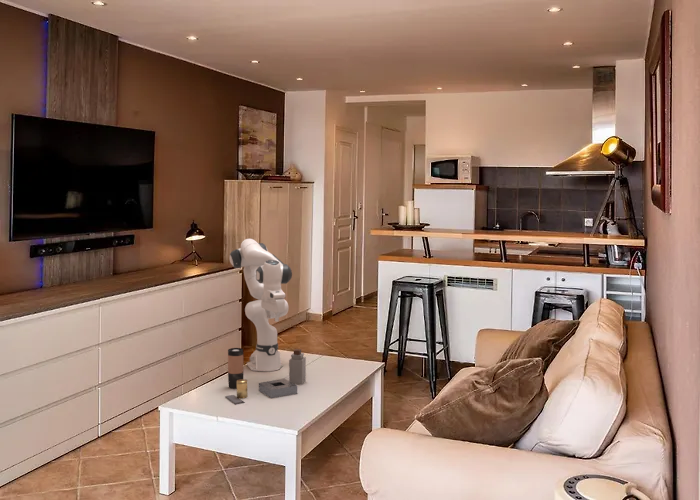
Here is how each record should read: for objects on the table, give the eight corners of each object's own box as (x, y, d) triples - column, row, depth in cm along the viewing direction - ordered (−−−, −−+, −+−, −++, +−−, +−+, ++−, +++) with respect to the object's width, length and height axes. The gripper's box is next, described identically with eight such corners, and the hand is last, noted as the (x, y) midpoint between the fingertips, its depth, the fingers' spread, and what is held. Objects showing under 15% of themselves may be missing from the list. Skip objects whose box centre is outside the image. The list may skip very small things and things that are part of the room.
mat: (225, 397, 320) (225, 396, 320) (248, 393, 327) (248, 392, 327) (235, 404, 310) (235, 402, 310) (258, 400, 317) (258, 398, 317)
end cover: (235, 396, 319) (234, 380, 319) (244, 394, 322) (244, 378, 321) (239, 399, 315) (239, 382, 315) (249, 397, 318) (249, 381, 317)
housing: (258, 392, 329) (258, 382, 328) (284, 388, 336) (284, 378, 336) (271, 400, 317) (271, 390, 316) (297, 395, 324) (297, 385, 324)
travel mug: (246, 387, 337) (246, 348, 336) (239, 391, 330) (238, 351, 328) (232, 385, 340) (232, 347, 338) (225, 390, 333) (224, 350, 331)
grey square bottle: (302, 386, 339) (302, 351, 338) (289, 385, 341) (289, 351, 339) (305, 382, 346) (305, 348, 344) (293, 382, 347) (292, 348, 346)
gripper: (258, 290, 343) (258, 317, 344) (275, 295, 326) (275, 323, 327) (269, 289, 347) (269, 315, 348) (287, 294, 329) (287, 322, 331)
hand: (272, 319), depth 337 cm, fingers open, 8 cm apart
